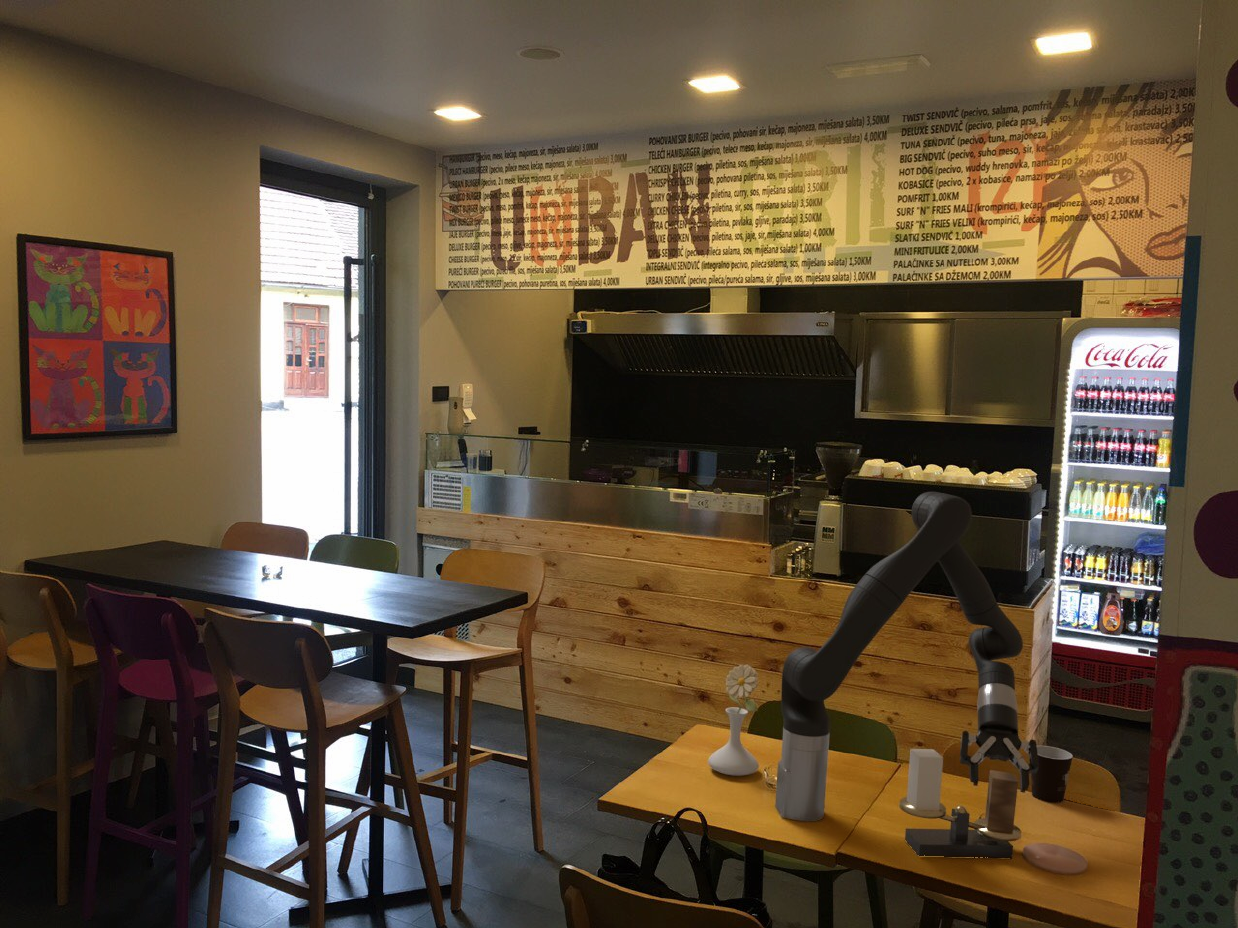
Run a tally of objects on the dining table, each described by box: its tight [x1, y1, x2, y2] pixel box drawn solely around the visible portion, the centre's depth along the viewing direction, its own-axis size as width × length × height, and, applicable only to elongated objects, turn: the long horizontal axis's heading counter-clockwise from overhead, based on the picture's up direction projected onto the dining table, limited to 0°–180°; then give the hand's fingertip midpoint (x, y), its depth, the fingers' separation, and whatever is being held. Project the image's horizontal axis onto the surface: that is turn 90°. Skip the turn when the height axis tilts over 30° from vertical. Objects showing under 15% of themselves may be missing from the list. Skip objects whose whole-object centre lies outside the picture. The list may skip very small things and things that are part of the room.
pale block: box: [906, 748, 944, 810], centre depth 188 cm, size 4×4×10 cm
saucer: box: [1022, 842, 1088, 876], centre depth 187 cm, size 11×11×1 cm
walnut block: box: [984, 769, 1019, 834], centre depth 190 cm, size 4×4×10 cm
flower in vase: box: [707, 664, 760, 777], centre depth 223 cm, size 13×11×25 cm
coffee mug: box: [1030, 745, 1074, 804], centre depth 220 cm, size 12×9×10 cm
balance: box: [899, 796, 1022, 860], centre depth 189 cm, size 23×8×8 cm, turn 95°
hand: (999, 787), depth 191 cm, fingers open, 8 cm apart
